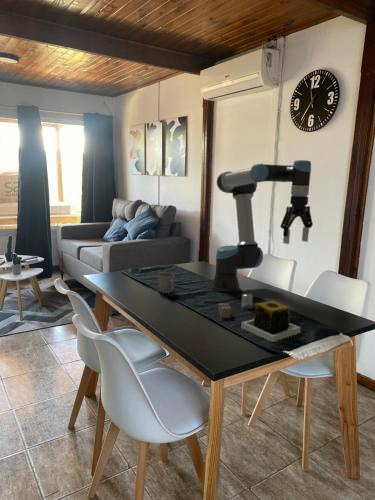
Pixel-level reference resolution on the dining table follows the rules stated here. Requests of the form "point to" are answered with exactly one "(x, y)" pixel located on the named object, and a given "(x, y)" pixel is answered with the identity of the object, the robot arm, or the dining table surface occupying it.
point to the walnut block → (224, 310)
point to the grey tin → (247, 301)
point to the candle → (271, 317)
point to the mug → (166, 282)
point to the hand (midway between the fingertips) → (295, 242)
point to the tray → (275, 337)
